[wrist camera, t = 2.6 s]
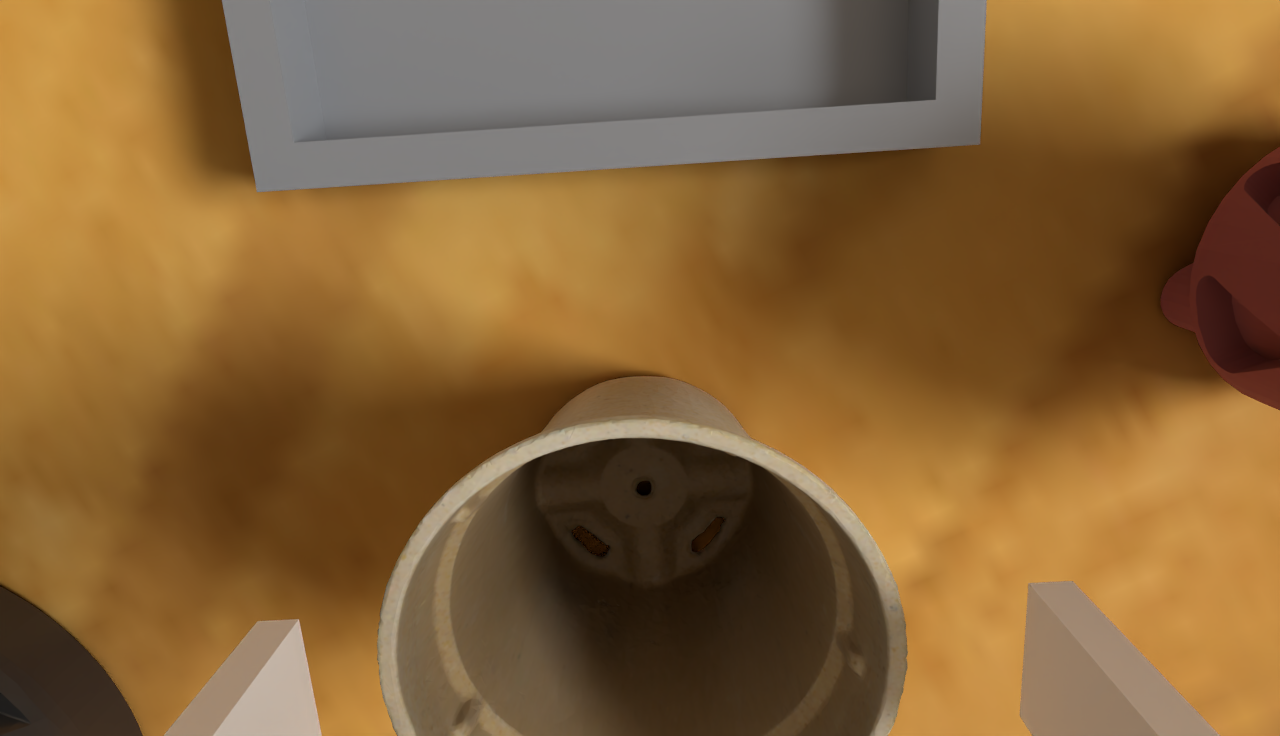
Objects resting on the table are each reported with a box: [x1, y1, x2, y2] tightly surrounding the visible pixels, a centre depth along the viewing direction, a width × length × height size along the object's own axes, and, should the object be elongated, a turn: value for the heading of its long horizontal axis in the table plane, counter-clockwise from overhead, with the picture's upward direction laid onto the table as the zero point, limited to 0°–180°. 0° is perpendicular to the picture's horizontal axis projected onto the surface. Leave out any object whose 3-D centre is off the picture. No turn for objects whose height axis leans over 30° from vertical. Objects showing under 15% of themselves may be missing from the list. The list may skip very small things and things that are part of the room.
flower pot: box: [377, 376, 908, 736], centre depth 19 cm, size 9×9×9 cm
